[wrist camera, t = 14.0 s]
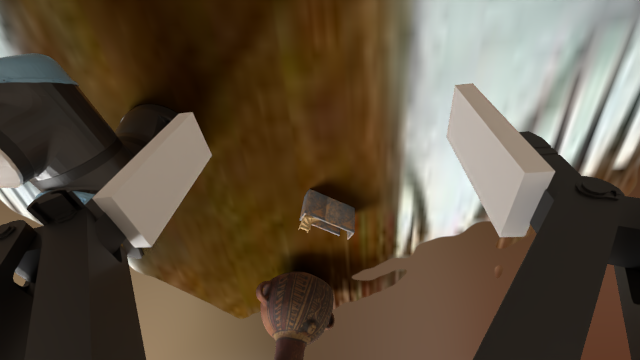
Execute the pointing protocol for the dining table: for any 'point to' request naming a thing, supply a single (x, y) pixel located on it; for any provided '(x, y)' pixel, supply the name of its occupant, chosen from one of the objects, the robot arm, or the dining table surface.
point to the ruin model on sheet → (326, 214)
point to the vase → (295, 311)
